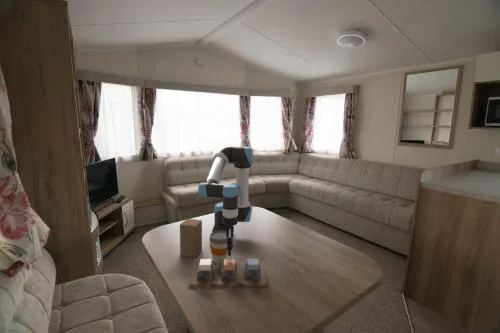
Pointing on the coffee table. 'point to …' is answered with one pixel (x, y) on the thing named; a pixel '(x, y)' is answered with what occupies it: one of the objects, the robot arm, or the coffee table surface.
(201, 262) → the cream button
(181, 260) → the coffee table surface
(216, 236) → the reusable coffee cup
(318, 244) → the coffee table surface
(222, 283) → the console
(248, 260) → the slate button
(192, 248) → the wooden block
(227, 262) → the terracotta button
